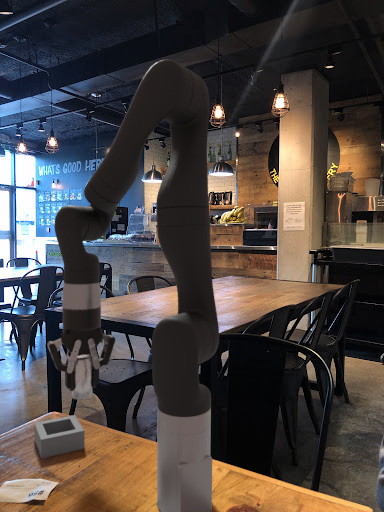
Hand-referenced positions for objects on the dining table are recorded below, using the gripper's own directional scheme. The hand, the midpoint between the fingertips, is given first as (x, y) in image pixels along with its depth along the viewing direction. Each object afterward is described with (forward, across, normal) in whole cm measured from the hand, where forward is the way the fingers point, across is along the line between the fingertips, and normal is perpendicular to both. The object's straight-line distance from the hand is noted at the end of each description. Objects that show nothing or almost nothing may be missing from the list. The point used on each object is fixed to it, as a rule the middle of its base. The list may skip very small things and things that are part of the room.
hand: (82, 387), depth 87 cm
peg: (+2, 0, 0) cm, 2 cm away
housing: (+15, -3, +9) cm, 18 cm away
